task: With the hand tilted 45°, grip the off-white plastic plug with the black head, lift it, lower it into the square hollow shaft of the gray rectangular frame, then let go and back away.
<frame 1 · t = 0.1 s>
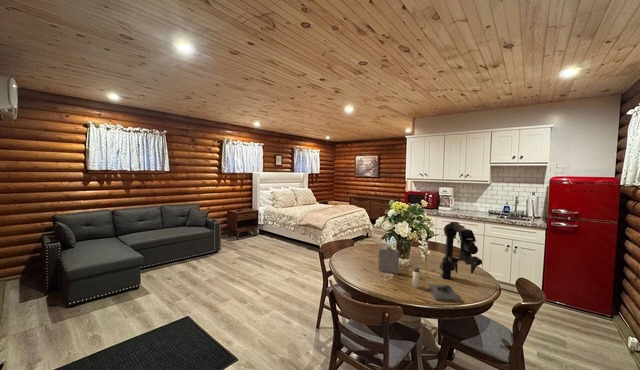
hand: (464, 273, 169), 15 cm above the table, tool pointing down, fingers open, 9 cm apart
plug: (415, 286, 182), on the table
hip flask: (388, 271, 208), on the table
gray rectangular frame: (442, 295, 170), on the table
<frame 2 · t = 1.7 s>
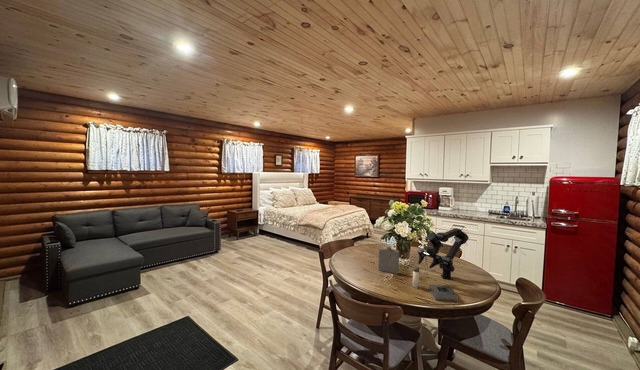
hand: (424, 265, 185), 13 cm above the table, tool tilted 45°, fingers open, 9 cm apart
nothing on the table moved.
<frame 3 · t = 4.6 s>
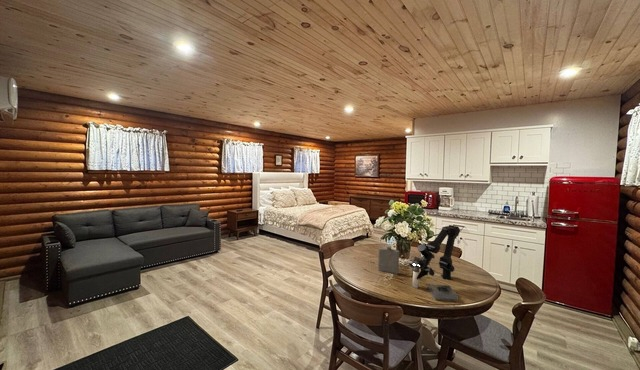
hand: (414, 277, 181), 7 cm above the table, tool tilted 45°, fingers closed on plug, 4 cm apart
plug: (415, 286, 182), on the table, touching gripper
everything else where it was.
when the fingers open (8 cm above the table, at t = 9.6 s): plug stays where it is, resting in gray rectangular frame.
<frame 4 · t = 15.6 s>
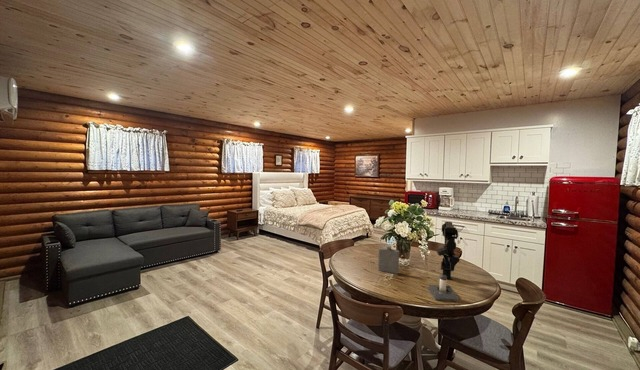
hand: (448, 267, 184), 13 cm above the table, tool pointing down, fingers open, 9 cm apart
plug: (442, 295, 170), resting in gray rectangular frame
everything else where it was.
at the end: plug 0.0 cm off-centre on the gray rectangular frame, point 0.0 cm above the gray rectangular frame's base; plug tilted 0°; the gripper is holding nothing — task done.
